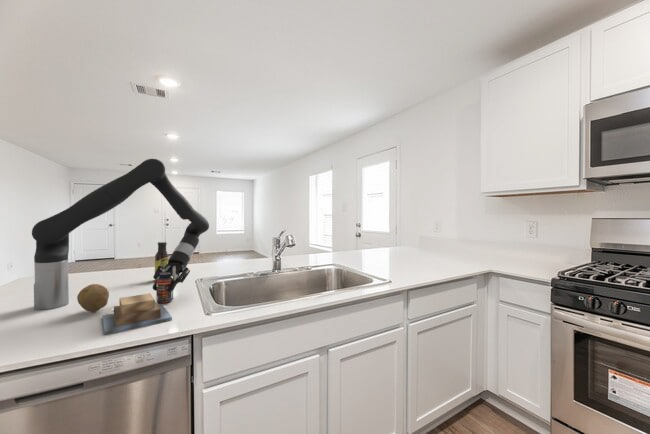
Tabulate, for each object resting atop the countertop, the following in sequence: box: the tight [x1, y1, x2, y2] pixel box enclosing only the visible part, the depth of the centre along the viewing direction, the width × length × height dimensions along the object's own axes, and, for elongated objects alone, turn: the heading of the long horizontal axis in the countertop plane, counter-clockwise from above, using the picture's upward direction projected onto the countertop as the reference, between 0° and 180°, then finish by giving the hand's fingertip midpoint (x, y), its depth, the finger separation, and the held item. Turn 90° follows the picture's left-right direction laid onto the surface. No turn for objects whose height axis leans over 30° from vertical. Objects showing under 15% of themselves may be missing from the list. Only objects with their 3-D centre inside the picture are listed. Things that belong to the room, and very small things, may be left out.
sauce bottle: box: [154, 241, 170, 276], centre depth 146 cm, size 7×6×20 cm
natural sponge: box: [76, 283, 110, 313], centre depth 102 cm, size 9×9×10 cm
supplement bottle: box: [155, 272, 174, 304], centre depth 112 cm, size 6×6×11 cm
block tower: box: [102, 292, 173, 336], centre depth 95 cm, size 18×16×7 cm
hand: (161, 290), depth 111 cm, fingers closed on supplement bottle, 6 cm apart
